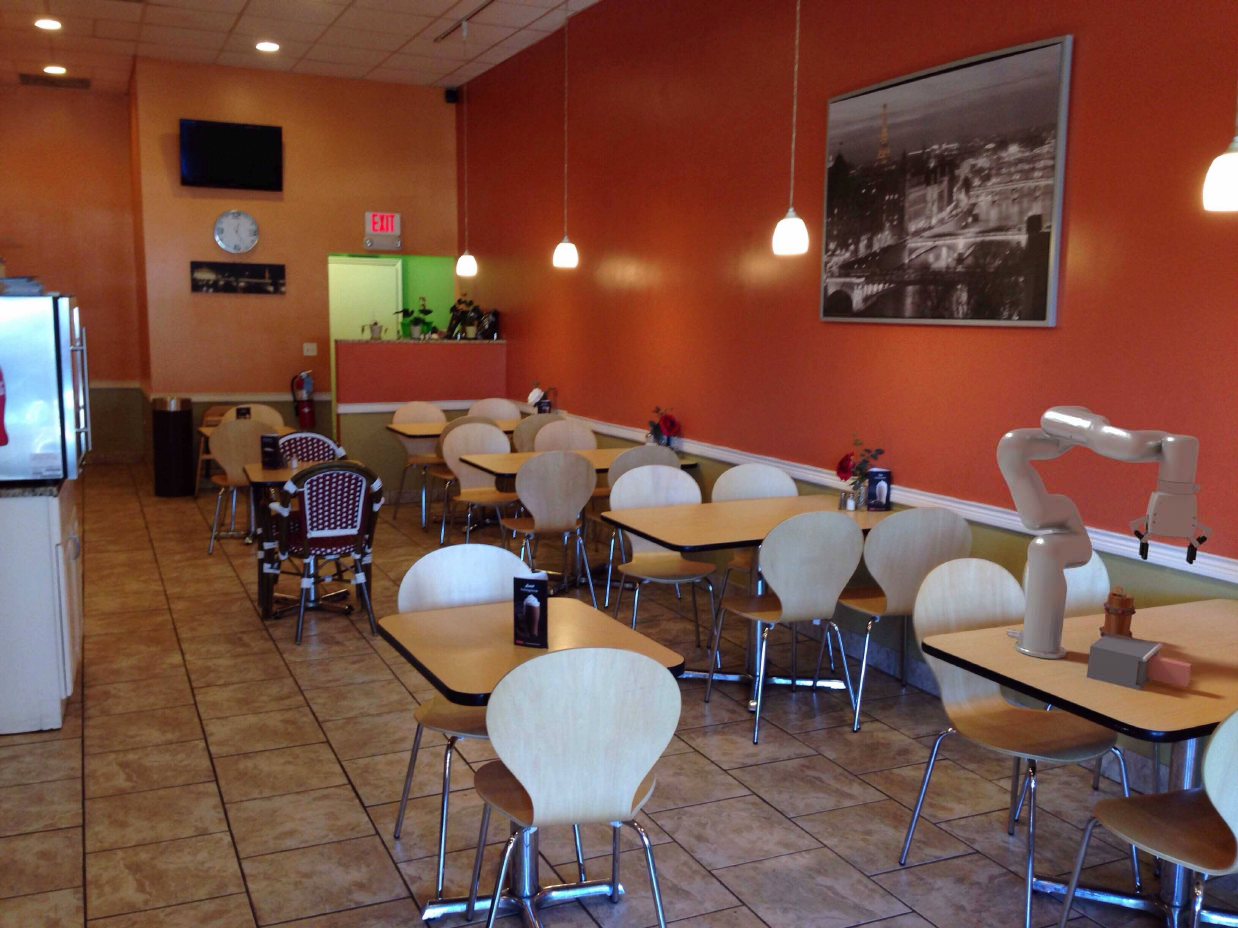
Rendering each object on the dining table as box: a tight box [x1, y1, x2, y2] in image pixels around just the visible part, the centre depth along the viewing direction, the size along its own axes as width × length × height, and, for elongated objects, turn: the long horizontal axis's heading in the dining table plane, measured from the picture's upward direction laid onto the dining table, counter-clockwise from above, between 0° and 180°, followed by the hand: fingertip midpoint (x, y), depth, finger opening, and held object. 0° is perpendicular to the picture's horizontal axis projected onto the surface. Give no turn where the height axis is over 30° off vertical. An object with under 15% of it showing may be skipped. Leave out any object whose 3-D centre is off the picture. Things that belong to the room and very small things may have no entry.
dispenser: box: [1086, 632, 1164, 691], centre depth 257 cm, size 13×16×8 cm
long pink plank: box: [1147, 655, 1192, 688], centre depth 253 cm, size 18×3×5 cm, turn 50°
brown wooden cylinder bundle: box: [1098, 585, 1137, 638], centre depth 283 cm, size 15×8×15 cm, turn 160°
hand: (1166, 560), depth 241 cm, fingers open, 9 cm apart
